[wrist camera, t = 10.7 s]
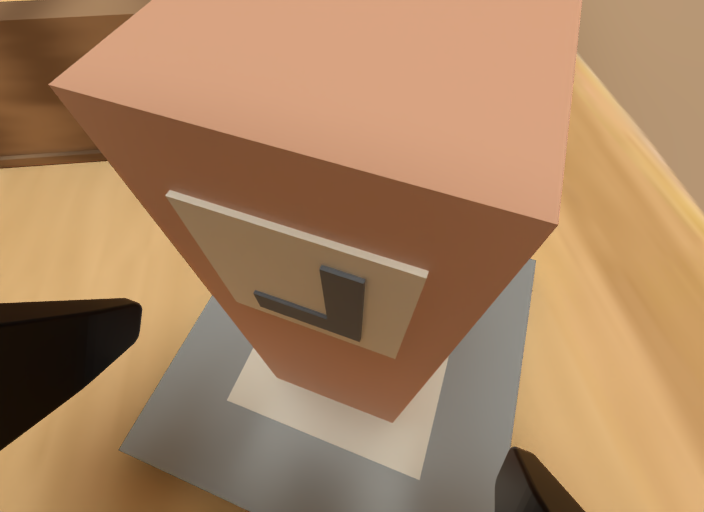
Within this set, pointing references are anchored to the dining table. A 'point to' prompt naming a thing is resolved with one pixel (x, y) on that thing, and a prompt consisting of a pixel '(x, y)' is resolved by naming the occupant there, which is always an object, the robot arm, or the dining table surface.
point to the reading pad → (337, 425)
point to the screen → (48, 75)
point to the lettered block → (341, 167)
